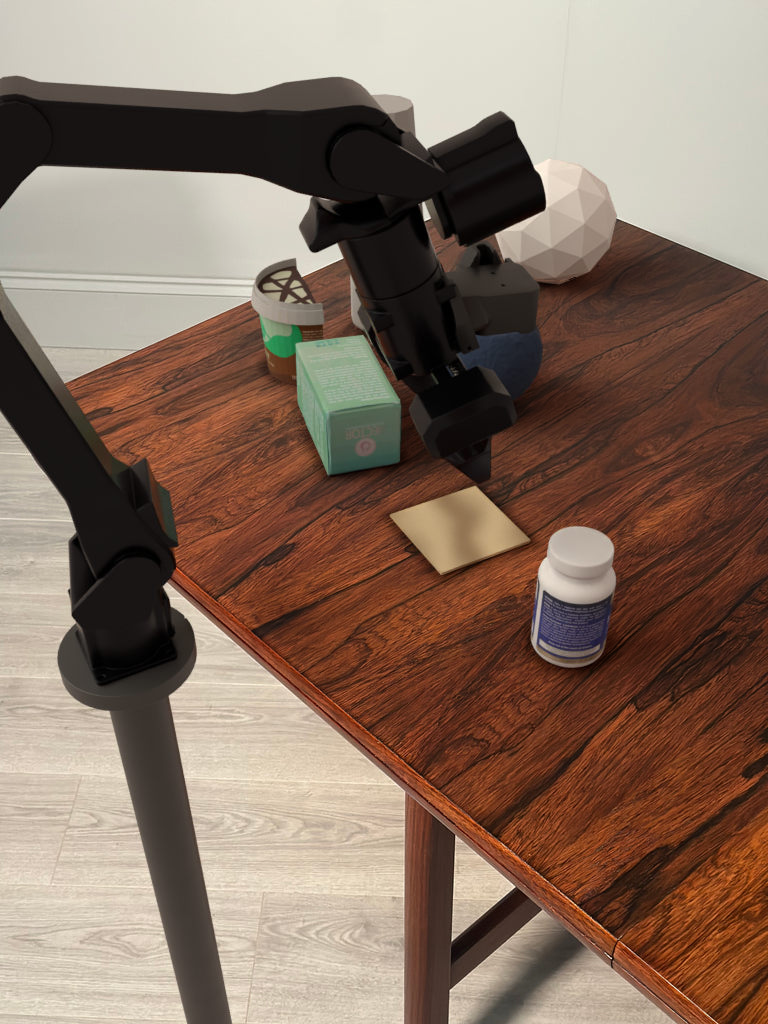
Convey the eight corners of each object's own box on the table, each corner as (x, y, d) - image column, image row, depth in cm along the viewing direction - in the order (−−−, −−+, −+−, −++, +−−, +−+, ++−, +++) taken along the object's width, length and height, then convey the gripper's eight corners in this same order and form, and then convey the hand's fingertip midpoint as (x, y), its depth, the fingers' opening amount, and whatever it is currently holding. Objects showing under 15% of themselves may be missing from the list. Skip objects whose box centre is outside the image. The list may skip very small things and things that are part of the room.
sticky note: (441, 575, 87) (441, 572, 87) (389, 516, 93) (389, 514, 93) (530, 542, 90) (530, 540, 90) (475, 488, 97) (475, 485, 97)
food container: (246, 345, 118) (238, 263, 112) (299, 337, 119) (294, 255, 113) (270, 401, 109) (263, 314, 103) (327, 391, 110) (323, 305, 104)
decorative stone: (556, 422, 105) (566, 334, 99) (444, 441, 103) (447, 351, 97) (512, 365, 114) (519, 281, 108) (409, 381, 112) (410, 296, 106)
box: (327, 479, 98) (325, 411, 93) (296, 406, 108) (292, 341, 103) (402, 466, 99) (403, 399, 95) (364, 395, 110) (363, 331, 105)
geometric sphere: (516, 317, 134) (449, 223, 128) (579, 243, 139) (517, 149, 133) (594, 302, 122) (524, 198, 116) (659, 221, 127) (596, 118, 121)
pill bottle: (618, 658, 80) (637, 559, 73) (552, 679, 78) (566, 579, 72) (580, 610, 84) (595, 513, 78) (516, 629, 82) (527, 531, 76)
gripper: (563, 283, 61) (613, 471, 72) (463, 172, 76) (516, 342, 86) (392, 362, 62) (465, 539, 72) (324, 237, 76) (394, 399, 86)
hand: (463, 445), depth 79 cm, fingers open, 9 cm apart
